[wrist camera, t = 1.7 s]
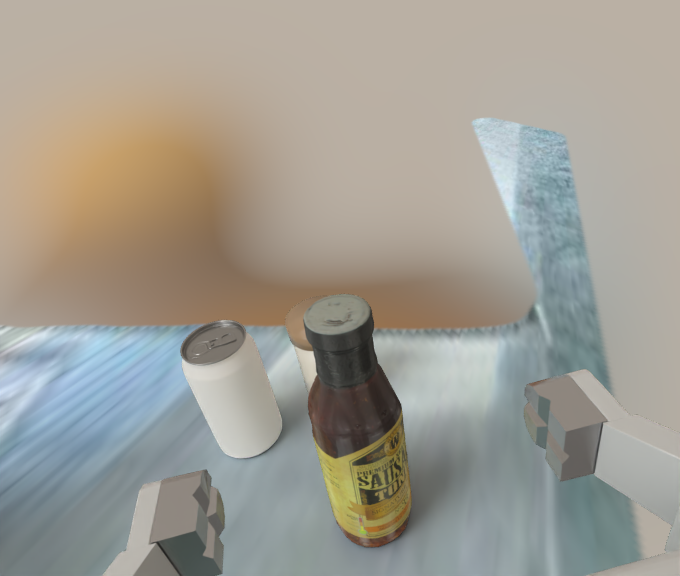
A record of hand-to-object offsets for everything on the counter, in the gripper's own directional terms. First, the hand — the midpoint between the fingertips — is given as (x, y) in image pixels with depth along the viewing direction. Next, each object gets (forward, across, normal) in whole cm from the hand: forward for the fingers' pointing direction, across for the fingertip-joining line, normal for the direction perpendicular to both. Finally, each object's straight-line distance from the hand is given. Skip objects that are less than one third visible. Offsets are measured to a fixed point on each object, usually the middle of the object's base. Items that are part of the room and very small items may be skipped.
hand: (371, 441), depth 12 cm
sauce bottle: (+15, 0, +26) cm, 30 cm away
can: (+26, +10, +26) cm, 38 cm away
